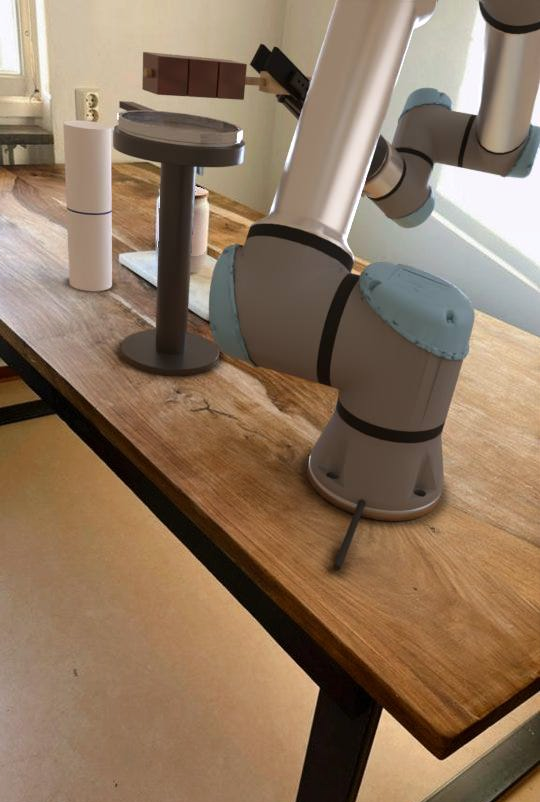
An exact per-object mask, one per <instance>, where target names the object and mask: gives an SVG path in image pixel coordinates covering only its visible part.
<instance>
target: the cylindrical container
mask: <svg viewBox="0 0 540 802" xmlns="http://www.w3.org/2000/svg"><path fill="white" fill-rule="evenodd" d="M62 125H63V126H62V127H63V128H62V129H63V148H64V149H63V152H64V170H65V171H64V176H65V200H66V226H67V249H68V273H69V275H68V276H69V278H68V279H69V285H70V286H71V287H72V288H74V289H77V290H80V291H86V292H101V291H106V290H109V289H111V288H112V286H113V230H112V229H113V226H112V225H113V221H112V220H113V215H112V213H113V210H112V207H113V205H112V204H113V203H112V202H113V201H112V199H113V198H112V188H113V187H112V126H111V125H110V124H106V123H102V122H97V121H89V120H78V119H77V120H76V119H73V120H64V121H63V122H62Z"/></svg>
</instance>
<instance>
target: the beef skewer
mask: <svg viewBox="0 0 540 802" xmlns="http://www.w3.org/2000/svg"><path fill="white" fill-rule="evenodd" d="M247 67H248V64H247V63H244V62H240V61H236V60H231V59H223V58H214V57H201V56H193V55H192V56H191V55H182V54H172V53H171V54H170V53H163V52H162V53H161V52H160V53H159V52H150V51H143V52H142V86H141V87H142V90H143V91H145V92H149V93H151V94H154V95H156V96H170V97H171V96H172V97H188V98H189V97H190V98H206V99H220V100H237V101H244V100H245V92H246V91H245V90H246V86H254V87H255V86H256V87H258V91H259V92H262V93H265V94H272V95H276V94H285V95H290V94H289V93H288V92H287V91H286V90H285V89H284V88H283V87H282V86H281V85H280V84H279V83H278V82H277V81H276V80H275V79H274V78H273V77H272V76H271V75H270V74H269V73H268V72H267V71H261V73H260V74H259V77H257V76H247ZM304 75H305V76H306V77H307V78H308V79H309V80H310V82H309V84H310V83H311V79H312V76H313V74H312V75H311V74H304Z"/></svg>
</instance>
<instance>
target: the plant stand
mask: <svg viewBox="0 0 540 802" xmlns="http://www.w3.org/2000/svg"><path fill="white" fill-rule="evenodd" d="M118 105H119V106H118V108H119V109H122V110H123V111H120V112H117V124H116V125H115V126H113V127H112V147H113V149H114V150H116V151H117V152H119V153H121V154H123V155H126V156H129V157H133V158H136V159H140V160H143V161H149V162H154V163H158V164H160V175H159V176H160V178H159V179H160V180H159V181H160V182H159V184H160V208H159V207H158V213H159V241H158V240H157V241H158V247H157V276H156V305H155V306H156V310H155V328H154V329H146V330H141V331H138V332H135V333H132V334H129V335H128V336H126V337H124V339H123V340H122V342H121V345H120V353H121V355H120V356H121V357H122V359H123V360H124V361H125V362H126V363H127V364H128V365H130V366H131V367H133V368H135V369H137V370H140V371H142V372H146V373H148V374H149V373H150V374H154V375H159V376H166V377H167V376H169V377H184V376H185V377H186V376H194V375H198V374H202V373H205V372H207V371H210V370H212V369H213V368H214V367H215V366H217V364H218V363H219V362H218V361H219V356H220V351H219V350H220V349H219V348H218V346H217V345H216V343H215V342H213V341H212V340H210V339H208V338H207V337H206V336H202V335H200V334H197V333H194V332H190V331H188V321H189V320H188V319H189V304H190V302H189V301H190V284H191V268H192V254H191V253H192V235H193V228H194V224H193V218H194V213H195V200H196V199H195V192H196V191H195V184H196V182H197V173H196V167H204V168H228V167H229V168H230V167H234V166H239V165H242V164H243V163H244V161H245V149H246V142H245V141H244V140H243V133H244V129H243V128H241V126H240V125H237V124H235V123H232V122H229V121H226V120H222V119H217V118H213V117H209V116H203V115H197V114H191V113H190V114H189V113H183V112H172V111H165V110H156V109H153V108H150V107H148V106H145V105H142V104H140V103H137V102H134V101H123V100H119V103H118Z"/></svg>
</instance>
